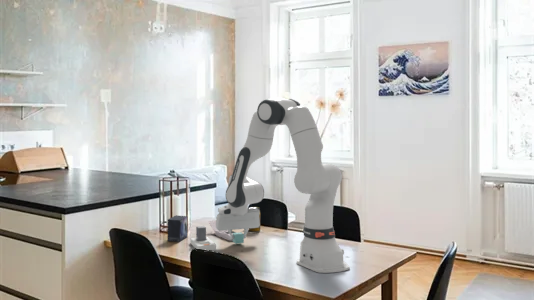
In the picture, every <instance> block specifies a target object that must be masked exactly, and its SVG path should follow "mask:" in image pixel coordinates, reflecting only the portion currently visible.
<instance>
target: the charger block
mask: <svg viewBox="0 0 534 300" xmlns="http://www.w3.org/2000/svg"><path fill="white" fill-rule="evenodd" d="M195 227H196V228H195V229H196V230H195V231H196V232H195V233H196V237H195V238H196V241H205V240H206V237H207V227H206V226H205V225H197V226H195Z"/></svg>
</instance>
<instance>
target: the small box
mask: <svg viewBox="0 0 534 300" xmlns="http://www.w3.org/2000/svg"><path fill="white" fill-rule="evenodd" d="M187 238H188V215H187V216H186V215H176V214H175V215H174V216H172V217H170V218H168V219H167V242H178V243H180V242H182V241H183V240H184V239H187Z"/></svg>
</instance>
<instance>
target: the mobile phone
mask: <svg viewBox="0 0 534 300" xmlns="http://www.w3.org/2000/svg"><path fill="white" fill-rule="evenodd" d="M208 224H209V226H210V227H211V228H212V230H213V231H214V233H215V236H217V237H219V236H220V237H219V238H221V237H222V238H221V239H225V240H226V239H227V240H226V241H230V242H233V239H231V238H230V234H229V232H228V230H223V231H219V230H217V229H216V220H215V219H214V220H209V221H208ZM231 233H232V235H233V233H237V232H236V231H234V230H232V232H231Z"/></svg>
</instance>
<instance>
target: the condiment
mask: <svg viewBox="0 0 534 300" xmlns="http://www.w3.org/2000/svg"><path fill="white" fill-rule="evenodd" d="M254 207H256V208H258V209H259V211H260V212H261V210H260V209H261V208H260V207H258V206H250V207H249V208H254ZM258 209H257V210H258ZM259 219H260V220H261V214H260V215H259ZM242 231H243V233H244V232H245V230H244V229H242ZM261 232H264V230H262V229H261V225H260V226H259V227H258V228H248V232H247V234H248V233H249V234H255V233H261Z"/></svg>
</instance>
